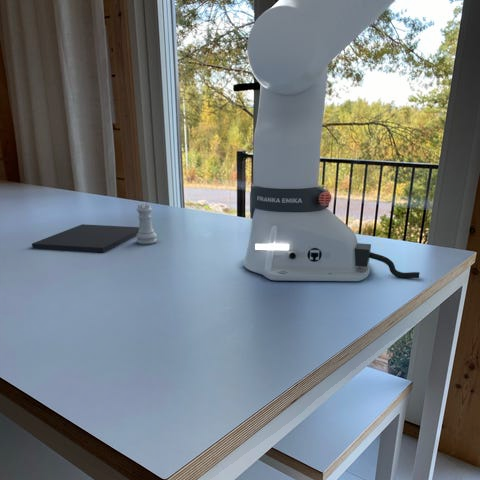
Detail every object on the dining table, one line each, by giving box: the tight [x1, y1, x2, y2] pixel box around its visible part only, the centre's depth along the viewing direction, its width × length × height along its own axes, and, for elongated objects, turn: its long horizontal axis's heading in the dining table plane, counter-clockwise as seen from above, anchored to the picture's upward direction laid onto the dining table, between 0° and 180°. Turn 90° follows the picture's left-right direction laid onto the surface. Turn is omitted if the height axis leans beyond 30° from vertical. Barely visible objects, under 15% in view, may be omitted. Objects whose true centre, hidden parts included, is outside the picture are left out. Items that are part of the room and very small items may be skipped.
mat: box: [31, 223, 139, 254], centre depth 105 cm, size 16×20×1 cm
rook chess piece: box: [135, 203, 158, 246], centre depth 101 cm, size 4×4×8 cm
